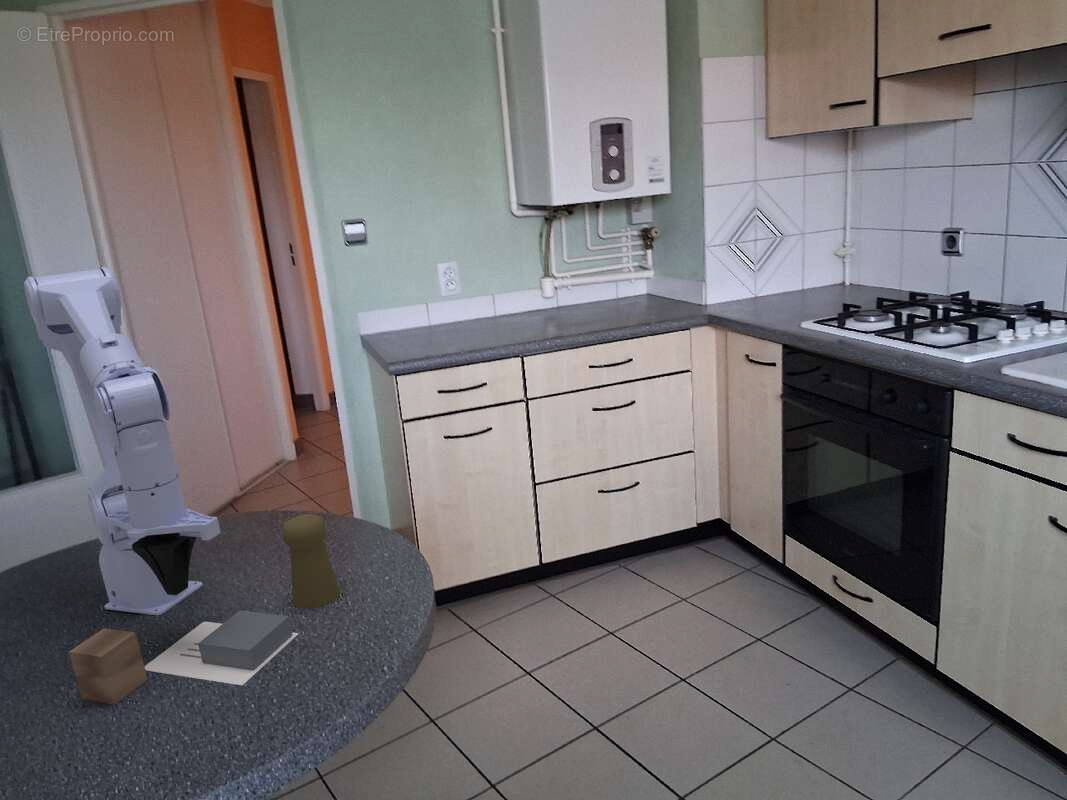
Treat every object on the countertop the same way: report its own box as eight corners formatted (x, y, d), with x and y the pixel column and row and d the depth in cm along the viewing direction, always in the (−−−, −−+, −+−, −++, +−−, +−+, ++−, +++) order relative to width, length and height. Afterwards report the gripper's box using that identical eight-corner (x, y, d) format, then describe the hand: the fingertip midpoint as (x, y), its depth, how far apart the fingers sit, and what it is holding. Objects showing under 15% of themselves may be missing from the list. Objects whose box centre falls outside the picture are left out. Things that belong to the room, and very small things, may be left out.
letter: (141, 670, 89) (140, 669, 89) (204, 622, 98) (203, 621, 98) (242, 686, 84) (242, 685, 84) (299, 634, 93) (298, 633, 93)
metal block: (202, 663, 89) (198, 643, 88) (244, 628, 95) (239, 610, 94) (253, 670, 86) (249, 650, 86) (292, 635, 93) (288, 616, 92)
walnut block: (83, 701, 85) (68, 651, 83) (117, 675, 89) (104, 628, 87) (115, 706, 83) (100, 656, 81) (148, 680, 87) (135, 632, 85)
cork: (328, 610, 98) (312, 529, 95) (283, 610, 99) (267, 529, 96) (348, 586, 103) (334, 508, 101) (306, 585, 105) (291, 508, 102)
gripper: (72, 492, 87) (102, 603, 91) (175, 498, 82) (203, 614, 86) (123, 469, 94) (149, 573, 97) (222, 473, 89) (246, 582, 92)
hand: (177, 590), depth 92 cm, fingers closed
